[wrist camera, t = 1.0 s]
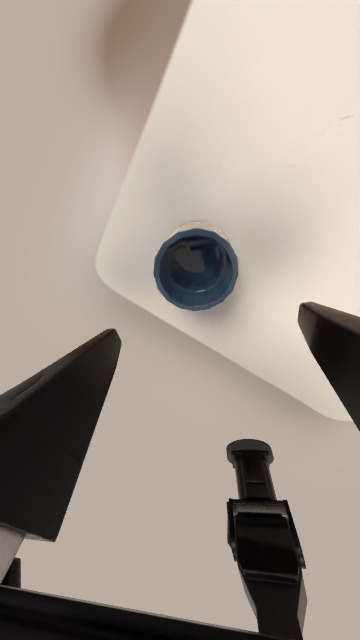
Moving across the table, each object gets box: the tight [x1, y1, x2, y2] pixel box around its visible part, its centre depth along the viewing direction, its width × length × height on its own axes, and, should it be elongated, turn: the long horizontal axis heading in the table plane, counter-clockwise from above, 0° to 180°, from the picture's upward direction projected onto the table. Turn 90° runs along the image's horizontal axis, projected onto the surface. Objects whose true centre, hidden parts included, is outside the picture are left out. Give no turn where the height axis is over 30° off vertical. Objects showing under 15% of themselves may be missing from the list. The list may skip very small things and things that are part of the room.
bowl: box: [154, 221, 238, 311], centre depth 15 cm, size 6×6×4 cm
